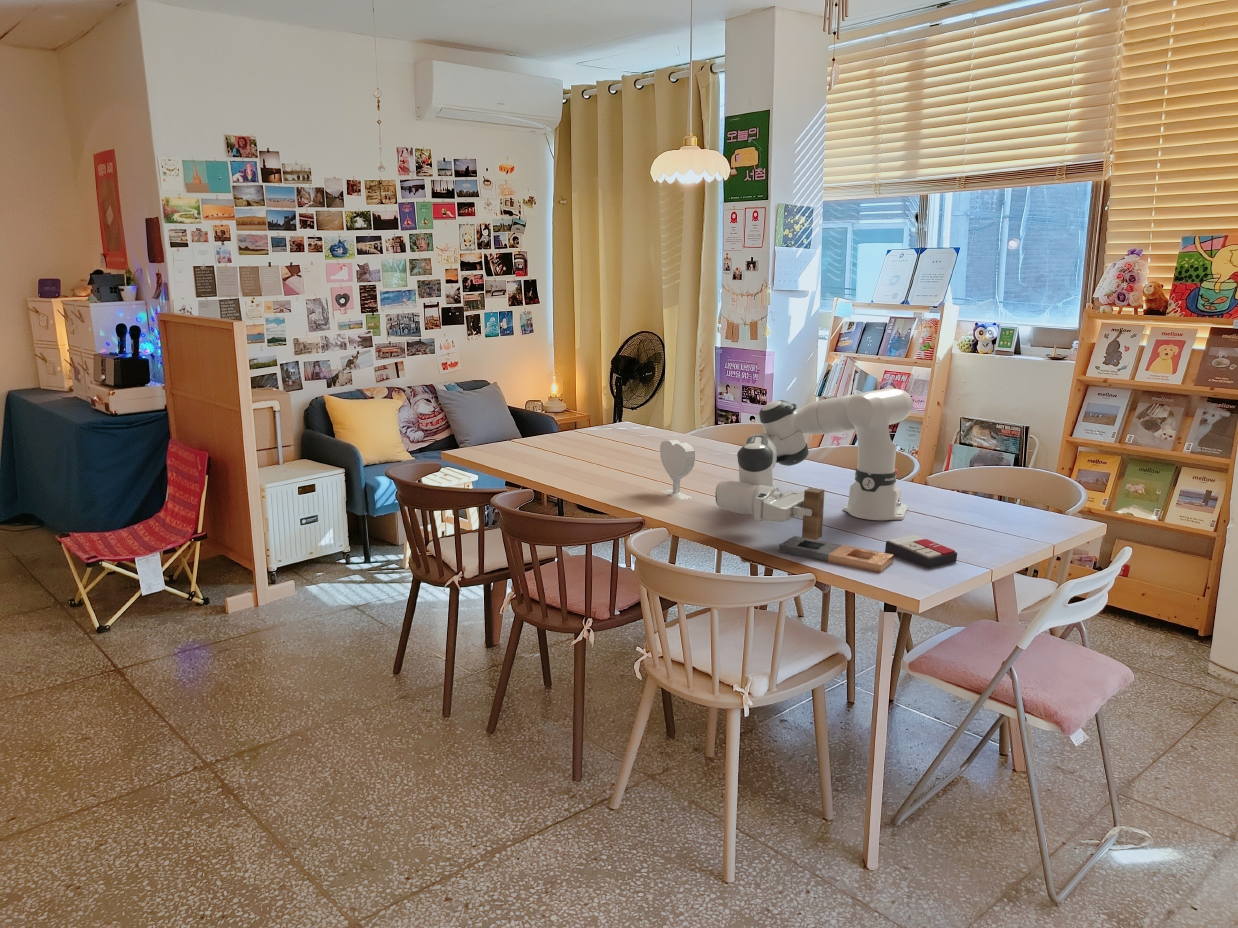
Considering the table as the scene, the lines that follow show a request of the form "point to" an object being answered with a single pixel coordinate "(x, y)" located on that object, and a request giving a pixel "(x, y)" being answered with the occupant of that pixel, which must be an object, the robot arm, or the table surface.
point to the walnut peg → (815, 521)
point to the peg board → (837, 553)
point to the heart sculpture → (677, 463)
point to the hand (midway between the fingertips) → (816, 510)
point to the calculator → (921, 551)
